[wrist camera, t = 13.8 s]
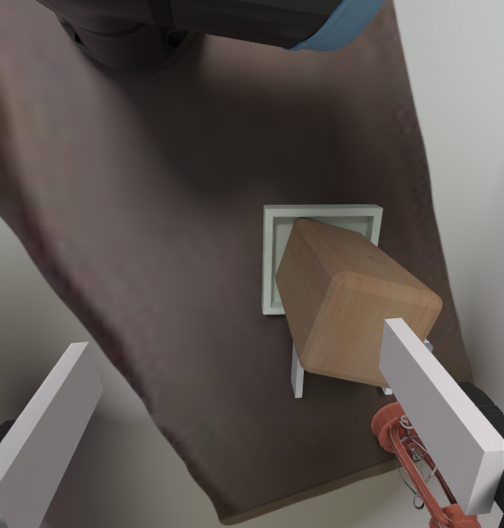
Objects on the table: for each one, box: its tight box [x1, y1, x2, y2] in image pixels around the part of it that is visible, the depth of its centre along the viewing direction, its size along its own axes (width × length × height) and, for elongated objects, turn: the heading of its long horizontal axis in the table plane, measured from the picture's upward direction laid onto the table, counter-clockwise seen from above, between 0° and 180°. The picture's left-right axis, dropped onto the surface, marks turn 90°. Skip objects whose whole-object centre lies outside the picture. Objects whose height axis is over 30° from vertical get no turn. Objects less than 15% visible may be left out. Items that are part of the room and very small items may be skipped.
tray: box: [262, 204, 383, 315], centre depth 47 cm, size 15×15×2 cm
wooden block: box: [275, 217, 443, 389], centre depth 38 cm, size 10×10×20 cm
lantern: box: [371, 402, 481, 528], centre depth 47 cm, size 10×10×30 cm
